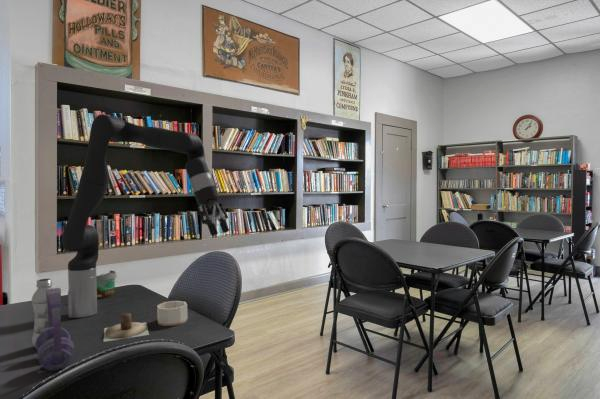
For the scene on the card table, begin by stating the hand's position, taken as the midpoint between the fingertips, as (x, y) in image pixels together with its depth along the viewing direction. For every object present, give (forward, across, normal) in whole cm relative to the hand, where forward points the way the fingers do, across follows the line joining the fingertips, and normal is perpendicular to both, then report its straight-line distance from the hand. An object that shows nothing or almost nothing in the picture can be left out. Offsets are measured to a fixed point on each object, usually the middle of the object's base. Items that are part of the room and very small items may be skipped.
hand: (220, 233), depth 134 cm
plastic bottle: (+14, +28, -52) cm, 61 cm away
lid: (+19, +12, -37) cm, 44 cm away
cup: (+22, 0, -29) cm, 37 cm away
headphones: (+18, +36, -41) cm, 58 cm away
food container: (+6, -23, -73) cm, 77 cm away
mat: (+19, +12, -37) cm, 44 cm away
